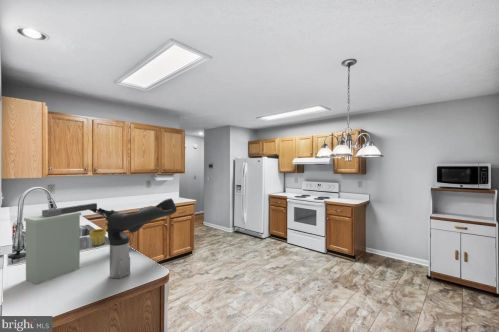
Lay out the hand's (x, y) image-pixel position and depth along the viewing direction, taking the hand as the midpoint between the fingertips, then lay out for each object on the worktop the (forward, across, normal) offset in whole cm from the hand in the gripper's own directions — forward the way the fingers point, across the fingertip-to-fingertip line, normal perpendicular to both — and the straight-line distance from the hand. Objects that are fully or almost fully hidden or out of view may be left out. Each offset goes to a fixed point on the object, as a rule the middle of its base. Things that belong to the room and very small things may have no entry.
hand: (94, 208), depth 148 cm
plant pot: (-32, +25, -18) cm, 44 cm away
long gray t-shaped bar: (+11, -1, -6) cm, 13 cm away
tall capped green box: (+3, -1, -38) cm, 38 cm away
